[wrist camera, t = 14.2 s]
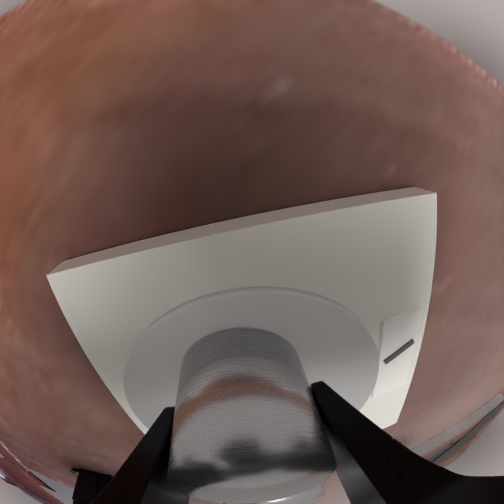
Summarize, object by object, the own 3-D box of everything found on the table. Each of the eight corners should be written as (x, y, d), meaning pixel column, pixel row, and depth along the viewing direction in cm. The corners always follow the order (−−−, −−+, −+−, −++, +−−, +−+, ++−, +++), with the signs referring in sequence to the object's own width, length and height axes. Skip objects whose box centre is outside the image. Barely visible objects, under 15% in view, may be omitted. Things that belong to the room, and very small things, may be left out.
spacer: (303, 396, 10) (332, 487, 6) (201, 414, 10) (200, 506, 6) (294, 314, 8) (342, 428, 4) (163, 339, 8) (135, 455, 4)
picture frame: (498, 390, 22) (384, 457, 21) (506, 399, 20) (391, 472, 19) (459, 443, 28) (359, 493, 27) (464, 452, 26) (363, 504, 25)
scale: (388, 408, 16) (399, 428, 14) (179, 453, 16) (178, 476, 13) (414, 187, 10) (446, 195, 8) (64, 260, 10) (38, 281, 8)
